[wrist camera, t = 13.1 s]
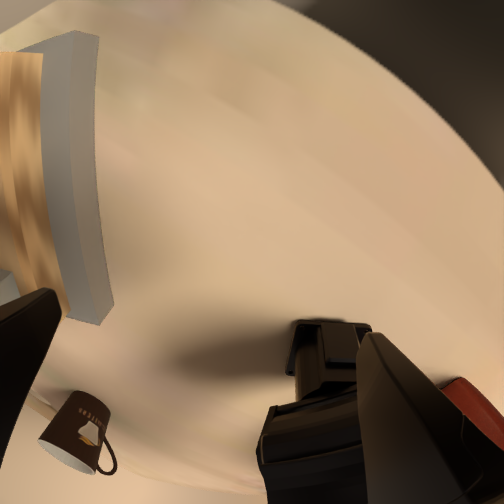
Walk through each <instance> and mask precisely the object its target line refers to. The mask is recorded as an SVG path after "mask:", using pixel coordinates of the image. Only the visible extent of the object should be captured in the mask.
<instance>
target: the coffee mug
mask: <svg viewBox="0 0 504 504" xmlns="http://www.w3.org/2000/svg"><path fill="white" fill-rule="evenodd" d="M110 415H111V413H110V410H109V409H108V408H107V407H106V405H104V404H103V403H102V402H101V401H100V400H98V399H97V398H95V397H94V396H92V395H90V394H88V393H85V392H82V391H74V392H73V393H72V394H71V395H70V397H69V398H68V399H67V401H66V402H65V403H64V405H63V406H62V407H61V409H60V410H59V411H58V413H57V414H56V415H55V417H54V418H53V420H52V421H51V422H50V424H49V425H48V427H47V428H46V429H45V431H44V432H43V433H42V435H41V436H40V438H39V439H38V443H39V444H40V445H41V447H42V448H43V449H45V450H46V451H47V452H48V453H49V454H51V455H52V456H53V457H55V458H56V459H58V460H60V461H61V462H63V463H64V464H66V465H68V466H70V467H72V468H74V469H76V470H78V471H81V472H83V473H86V474H90V475H95V472H96V469H97V470H98V471H99V472H100V473H101V474H104V475H113V474H114V473H115V472H116V470H117V461H116V457H115V455H114V452H113V450H112V448H111V446H110V444H109V442H108V441H107V439H106V437H105V433H106V429H107V425H108V422H109V418H110ZM103 441H104V443H105V445H106V446H107V448H108V450H109V452H110V454H111V456H112V460H113V464H114V466H113V469H112V470H111V471H110V472H105V471H103V470H102V469H101V468H100V467H99V465H98V460H99V456H100V452H101V448H102V444H103Z"/></svg>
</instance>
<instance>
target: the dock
mask: <svg viewBox="0 0 504 504" xmlns="http://www.w3.org/2000/svg"><path fill="white" fill-rule="evenodd" d="M98 43H99V36H95V35H92V34H88V33H84V32H80V31H71V32H68V33H65V34H62V35H59V36H56V37H53V38H50V39H47V40H44V41H42V42H39V43H37V44H34V45H31V46H29V47H26V48H24V49H22V50H19V51H17V52H28V53H43V61H42V74H41V93H40V134H41V154H42V167H43V177H44V186H45V194H46V202H47V209H48V215H49V221H50V227H51V232H52V237H53V242H54V247H55V252H56V256H57V260H58V265H59V269H60V273H61V277H62V280H63V284H64V288H65V291H66V295H67V298H68V302H69V305H70V308H71V310H70V312H69V313H68V314H67V315H66V317H68V318H71V319H75V320H79V321H83V322H87V323H91V324H95V325H99V326H100V324H101V323H102V321H103V320H104V319H105V317H106V316H107V314H108V313H109V311H110V310H111V308H112V307H113V306H114V301H113V297H112V292H111V287H110V282H109V276H108V271H107V265H106V259H105V253H104V246H103V239H102V232H101V224H100V216H99V207H98V196H97V184H96V169H95V146H94V100H95V78H96V63H97V52H98Z"/></svg>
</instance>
